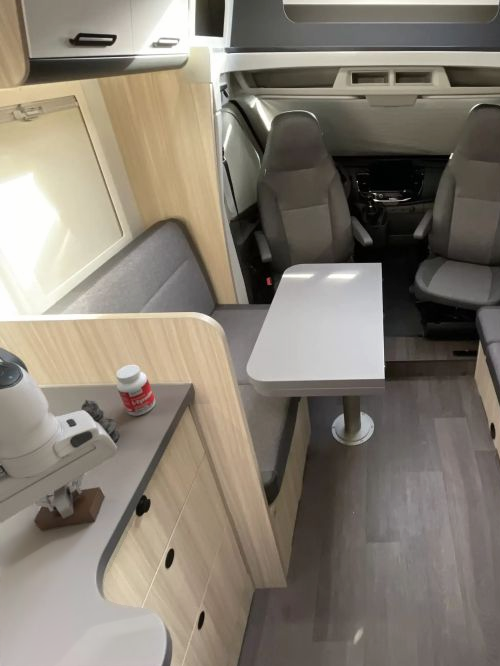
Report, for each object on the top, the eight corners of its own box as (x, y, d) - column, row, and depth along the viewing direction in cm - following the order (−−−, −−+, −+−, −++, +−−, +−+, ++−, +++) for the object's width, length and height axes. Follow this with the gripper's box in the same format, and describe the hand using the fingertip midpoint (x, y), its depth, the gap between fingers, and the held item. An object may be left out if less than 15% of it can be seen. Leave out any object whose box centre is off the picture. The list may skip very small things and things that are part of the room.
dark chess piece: (104, 427, 99) (85, 388, 93) (127, 431, 98) (109, 391, 92) (83, 449, 94) (62, 408, 88) (107, 453, 93) (87, 412, 87)
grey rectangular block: (73, 513, 78) (64, 499, 76) (63, 518, 77) (53, 503, 75) (71, 488, 82) (63, 473, 80) (61, 493, 82) (52, 478, 79)
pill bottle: (137, 420, 100) (122, 384, 95) (121, 410, 103) (106, 374, 98) (161, 403, 105) (148, 367, 99) (146, 394, 108) (132, 358, 102)
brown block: (40, 530, 79) (33, 521, 77) (53, 505, 83) (46, 495, 81) (95, 521, 80) (89, 511, 78) (104, 496, 84) (99, 486, 83)
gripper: (-44, 504, 64) (-1, 556, 71) (107, 422, 77) (130, 473, 84) (-52, 478, 68) (-10, 531, 75) (93, 404, 81) (117, 455, 88)
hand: (65, 500), depth 79 cm, fingers closed
